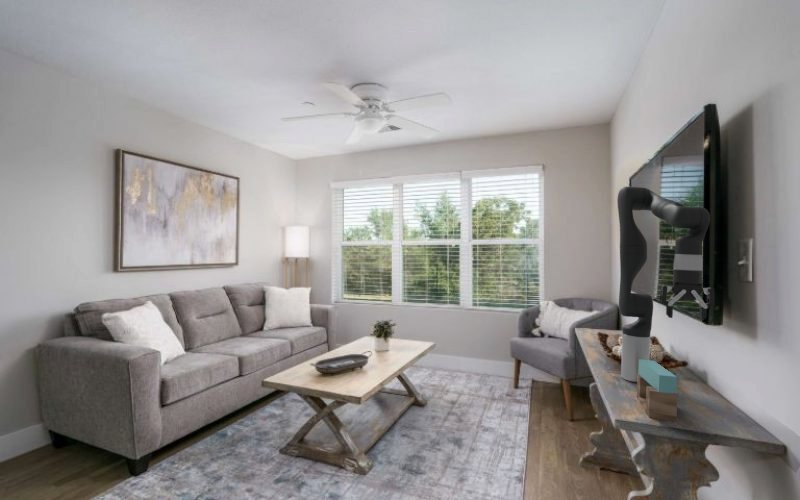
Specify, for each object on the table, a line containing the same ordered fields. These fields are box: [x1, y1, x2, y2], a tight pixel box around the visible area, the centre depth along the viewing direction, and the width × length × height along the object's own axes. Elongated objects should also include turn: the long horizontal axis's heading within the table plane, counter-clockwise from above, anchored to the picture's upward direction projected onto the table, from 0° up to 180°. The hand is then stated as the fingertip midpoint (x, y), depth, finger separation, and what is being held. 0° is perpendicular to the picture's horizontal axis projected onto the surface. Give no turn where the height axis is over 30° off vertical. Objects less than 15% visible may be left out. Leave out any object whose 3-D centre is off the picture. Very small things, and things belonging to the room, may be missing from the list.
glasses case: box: [638, 359, 678, 395], centre depth 124 cm, size 17×5×5 cm, turn 166°
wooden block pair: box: [636, 374, 678, 422], centre depth 124 cm, size 17×7×8 cm, turn 159°
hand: (685, 318), depth 127 cm, fingers open, 8 cm apart
